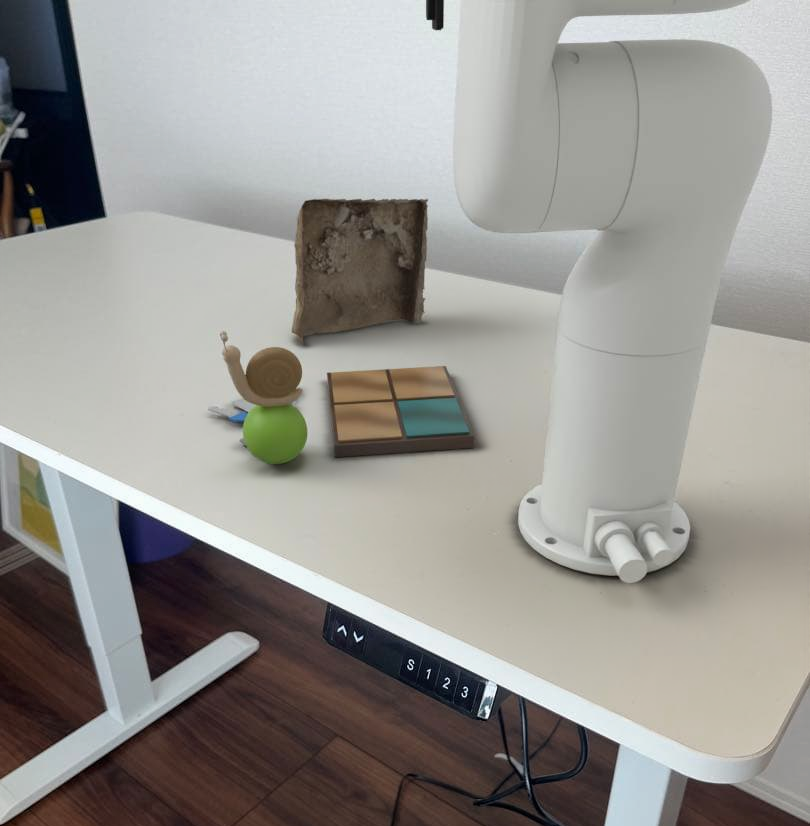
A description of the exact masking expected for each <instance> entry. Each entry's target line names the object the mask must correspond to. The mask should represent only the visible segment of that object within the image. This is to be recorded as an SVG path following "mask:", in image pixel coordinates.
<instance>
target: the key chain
mask: <svg viewBox="0 0 810 826" xmlns="http://www.w3.org/2000/svg"><path fill="white" fill-rule="evenodd" d="M230 404H232V405H234V406H235V407H238V408H240V409H241V410H243V411H232V410H229V409H227V408H225V409H224V408H220V407H219V406H209V407H208V408H207V411H209V412H212V413H213V412H214V413H216V414H220V415H223V416H226V417H228V420H229V421H232V422H235V423H244V421H245V418H246V416H247V415H248V413H249V412H250V410H251V409H252V408H253V407H255V406H256V405H255V404H252V403H249V402H247V401H246V400H245V399H240V400H235V401H231V402H230ZM290 404H292V405H293V406H294V402H292V403H290ZM239 443H241V444H244V445H246V444H245V441H244V438H243V437H242V438H241V439H239Z"/></svg>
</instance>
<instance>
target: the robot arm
mask: <svg viewBox="0 0 810 826" xmlns="http://www.w3.org/2000/svg"><path fill="white" fill-rule="evenodd" d="M750 1H751V0H460V5H459V6H460V9H459V27H458V41H457V42H458V43H457V44H458V45H457V61H456V75H455V76H456V77H455V96H454V112H453V113H454V114H453V132H452V133H453V135H452V136H453V137H452V138H453V139H452V167H453V176H454V186H455V191H456V195H457V196H456V197H457V199H458V203H459V206H460V208H461V210H462V212H463V213H464V215H465V217H467V218H468V220H469V221H470V222H471V223H472V224H474V225H475V226H477V227H478V228H480V229H483V230H485V231H489V232H491V233H496V234H497V233H499V234H533V233H553V232H554V233H555V232H571V231H572V232H573V231H574V232H575V231H590V230H591V231H592V230H596V231H597V233H596V234H595V236H594V237H593V238H592V239H591V241H590V242H589V244H588V245H587V246H586V248H585V249H584V251H583V252H582V254H581V255H580V256H579V258H578V259H577V261H576V263H575V264H574V266H573V268H572V269H571V271H570V273H569V275H568V277H567V279H566V281H565V284H564V287H563V290H562V294H561V296H560V301H559V302H560V303H559V307H558V318H557V327H556V337H555V348H554V356H553V357H554V358H553V368H552V378H551V389H550V400H549V409H548V419H547V420H548V421H547V431H546V440H545V449H544V450H545V452H544V460H543V472H542V473H543V474H542V482H541V483H540V484H538V485H536V486H534V487H533V488H532V489H530V490H529V491H528V492H527V493H526V494H525V495H524V496H523V498H522V499H521V501H520V504H519V508H518V515H517V516H518V517H517V524H518V528H519V532H520V534H521V535H522V537H523V539H524V540H525V542H526V543H527V544H528V545H529V546H530V547H531V548H532V549H533V550H535V551H536V552H537V553H539V554H540V555H541V556H543V557H545V558H546V559H548V560H549V561H552V562H554V563H556V564H558V565H560V566H563V567H566V568H568V569H571V570H574V571H578V572H583V573H587V574H591V575H598V576H599V575H600V576H611V577H612V576H614V577H615V576H618V577H619V579H620V581H622V582H624V583H626V584H634V583H637V582H640V581H641V580H642V579H643V578H645V577H646V575H647V573H651V572H654V571H657V570H660V569H662V568H665V567H666V566H669V565H671V564H672V563H674V562H675V561H676V560H678V559H679V558H680V557H681V555H682V554H683V553H684V552H685V551H686V549H687V546H688V543H689V540H690V533H691V524H690V519H689V517H688V516H687V513H686V511H685V510H684V509H683V508H682V507H681V506H680V505H679V504H678V502H676V500H675V497H676V493H677V488H678V484H679V479H680V478H679V477H680V473H681V470H682V469H681V468H682V464H683V459H684V454H685V449H686V445H687V441H688V440H687V439H688V435H689V429H690V425H691V420H692V415H693V409H694V405H695V401H696V397H697V391H698V385H699V382H700V377H701V371H702V367H703V362H704V358H705V357H704V356H705V352H706V347H707V342H708V338H709V336H710V335H709V334H710V329H711V325H712V319H713V315H714V312H715V311H714V310H715V306H716V303H717V302H716V301H717V297H718V294H719V293H718V292H719V288H720V284H721V280H722V276H723V273H724V270H725V265H726V262H727V258H728V254H729V251H730V249H731V245H732V242H733V239H734V237H735V234H736V230H737V227H738V225H739V222H740V219H741V217H742V215H743V212H744V209H745V207H746V204H747V202H748V200H749V197H750V196H751V193H752V190H753V187H754V186H755V182H756V180H757V178H758V175H759V172H760V169H761V168H762V167H761V166H762V164H763V161H764V159H765V155H766V152H767V148H768V144H769V140H770V136H771V130H772V122H773V101H772V100H773V99H772V93H771V90H770V86H769V82H768V80H767V78H766V76H765V74H764V72H763V71H762V69H761V67H760V66H759V65H758V64H757V63H756V62H755V60H753V59H752V58H751V57H750V56H748V55H747V54H746V53H744V52H743V51H741V50H739V49H737V48H735V47H733V46H729V45H727V44H724V43H719V42H716V41H715V42H714V41H709V40H702V39H701V40H698V39H686V38H685V39H684V38H682V39H680V38H679V39H676V38H675V39H673V38H671V39H635V40H633V39H632V40H609V41H601V42H600V41H599V42H598V41H597V42H559V41H560V38H561V36H562V34H563V31H564V30H565V28H566V26H567V24H568V23H569V22H570V21H571V20H573V19H575V18H579V17H580V18H581V17H607V16H614V17H615V16H660V15H661V16H663V15H666V16H667V15H687V14H688V15H689V14H701V13H711V12H717V11H722V10H728V9H732V8H735V7H739V6H742V5H744V4H746V3H748V2H750ZM444 14H445V0H425V18H426V21H431V29H432V30H434V31H442V29H444V25H445V24H444V21H445V20H444V19H445V15H444Z"/></svg>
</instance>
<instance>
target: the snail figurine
mask: <svg viewBox="0 0 810 826" xmlns="http://www.w3.org/2000/svg"><path fill="white" fill-rule="evenodd" d="M219 336H220V338H221V341H222V343H223V349H222V351H221V355H222V356H223V357H222V359H223V361H224V362H225V364H226V367H227V370H228V373H229V375H230V379H231V381H232V383H233V385H234V388H235V389H236V391H237V392H238V394H239V396H240V397H241V398H242V400H244V399H245V400H246V401H247V402H249V403H252V404H255V405H256V406H255V407H253V408H252V409H251V410H250V412H247V413H248V415H247V416H246V418H245V421H244V422H243V425H242V438H244V441H245V444H244V445H245V446H246V448H247V450H248V451H249V453H251V455H252V456H253V457H255V458H256V459H258V460H259V461H260V462H261V461H262V462H264V463H266V464H269V465H271V464H272V465H282V464H285V463H288V462H290V461H292V460H294V459H295V458H297V457H298V456H299V455H300V454H301V452H302V451H303V449H304V448H305V446H306V443H307V440H308V425H307V422H306V419H305V417H304V415H303V413H302V412H301V411H300V410H299V409H298V408H297V407H296V406H294V404H293V405H292V404H290V403H294V402H295V401H296V400H297V399H298V398H299V397H300V396H301V395H302V393H303V392H304V390H303V388H301V387H299V386H300V383H301V381H302V377H303V368H302V364H301V361H300V360H299V358H298V357H297V355H296V354H294V353H293V352H292V351H291V350H288V349H286V348H284V347H280V346H270V347H266V348H263V349H261V350H259V351H257V352H255V354H253V356H252V357H251V358H250V359H249V361H248V363H247V365H246V369H245V371H244V368H243V367H242V366H243V365H242V363H241V355H242V353H241V351H240V349H239V348H238V347H237V346H235V345H231V344H229V345H227V346H226V342H228V340H229V337H228V333H227V332H226V331H225V330H222V331H220V333H219ZM298 387H299V388H298Z"/></svg>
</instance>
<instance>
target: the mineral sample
mask: <svg viewBox="0 0 810 826" xmlns="http://www.w3.org/2000/svg"><path fill="white" fill-rule="evenodd" d="M428 202H429V198H426V199H425V198H424V199H423V198H420V199H418V198H413V199H408V198H403V199H402V198H398V199H396V198H390V199H389V198H383V199H375V198H371V199H370V198H369V199H362V198H355V199H346V198H339V199H335V198H319V199H317V198H313V199H308V200H304V202H303V203H302V205H301V207H300V209H299V212H298V213H297V217H296V230H295V236H294V255H295V256H294V257H295V266H296V273H295V274H296V275H295V282H294V283H295V285H294V290H295V295H296V298H295V311H294V313H293V314H294V315H293V320H292V326H291V333H292V334H294V335H296V337H297V339H298V341H299V343H300V345H302V346H305V345H304V338H303V337H304V336H306V335H309V334H317V335H318V334H326V333H328V334H329V333H338V332H343V331H349V330H350V331H351V330H355V329H356V330H357V329H360V328H364V327H368V326H371V325H374V324H381V323H387V322H391V321H406V322H408V323H411V324H423V320H422V319H423V316H424V314H425V309H424V308H425V300H426V297H424V295H423V294H424V290H425V276H426V275H425V271H426V261H427V251H428V245H427V241H428V240H427V239H428V238H427V231H428V219H429V218H428V207H429V205H428Z"/></svg>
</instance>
